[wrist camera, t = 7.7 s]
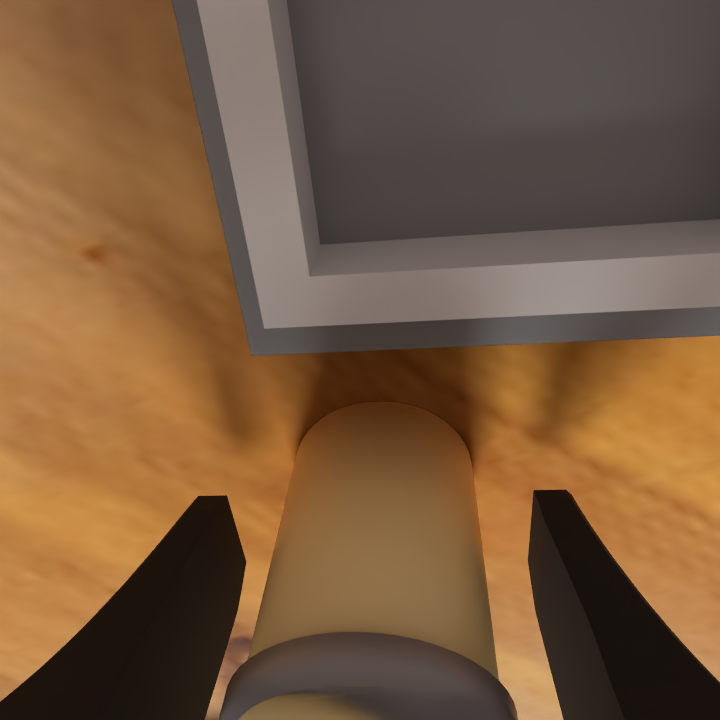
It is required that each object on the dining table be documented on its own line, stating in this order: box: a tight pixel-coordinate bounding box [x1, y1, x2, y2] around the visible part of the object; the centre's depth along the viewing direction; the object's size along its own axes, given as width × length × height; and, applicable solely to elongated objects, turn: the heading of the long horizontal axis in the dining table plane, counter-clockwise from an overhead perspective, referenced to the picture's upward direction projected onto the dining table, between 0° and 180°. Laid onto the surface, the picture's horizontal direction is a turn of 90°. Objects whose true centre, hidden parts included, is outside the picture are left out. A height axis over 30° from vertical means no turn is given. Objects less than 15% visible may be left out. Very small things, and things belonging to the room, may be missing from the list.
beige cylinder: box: [219, 401, 518, 720], centre depth 11 cm, size 4×4×6 cm
